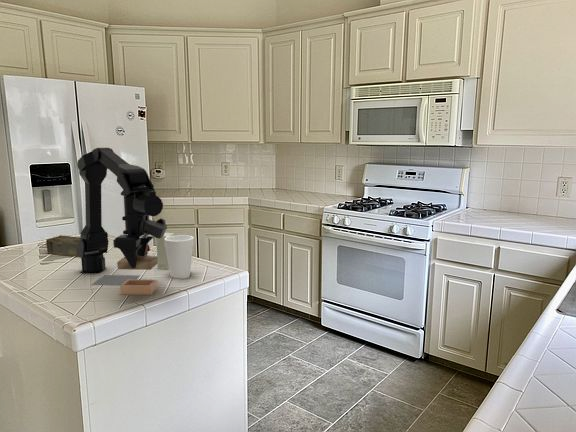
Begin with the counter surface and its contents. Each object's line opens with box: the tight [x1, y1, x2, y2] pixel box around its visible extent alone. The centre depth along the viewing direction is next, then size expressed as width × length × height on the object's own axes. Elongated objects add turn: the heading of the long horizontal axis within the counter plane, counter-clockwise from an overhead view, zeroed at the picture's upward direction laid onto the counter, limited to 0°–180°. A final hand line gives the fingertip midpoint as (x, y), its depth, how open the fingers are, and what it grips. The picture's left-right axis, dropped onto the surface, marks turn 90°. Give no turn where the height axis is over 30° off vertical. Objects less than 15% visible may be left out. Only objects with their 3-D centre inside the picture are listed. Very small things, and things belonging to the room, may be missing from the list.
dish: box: [119, 278, 159, 296], centre depth 128 cm, size 9×6×3 cm, turn 89°
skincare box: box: [156, 232, 176, 271], centre depth 152 cm, size 6×4×12 cm
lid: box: [116, 255, 158, 271], centre depth 127 cm, size 10×6×3 cm
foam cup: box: [164, 234, 195, 280], centre depth 143 cm, size 10×9×13 cm
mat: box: [90, 274, 141, 286], centre depth 138 cm, size 12×10×1 cm
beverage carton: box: [45, 234, 81, 258], centre depth 171 cm, size 8×19×7 cm, turn 72°
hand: (137, 264), depth 127 cm, fingers closed on lid, 6 cm apart
